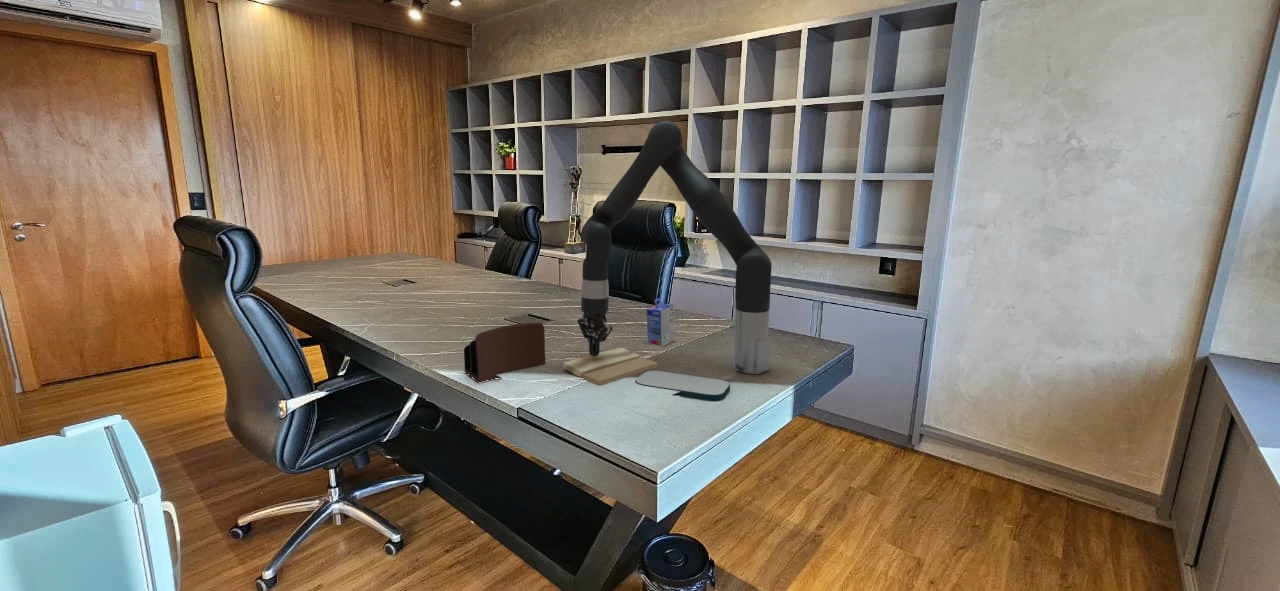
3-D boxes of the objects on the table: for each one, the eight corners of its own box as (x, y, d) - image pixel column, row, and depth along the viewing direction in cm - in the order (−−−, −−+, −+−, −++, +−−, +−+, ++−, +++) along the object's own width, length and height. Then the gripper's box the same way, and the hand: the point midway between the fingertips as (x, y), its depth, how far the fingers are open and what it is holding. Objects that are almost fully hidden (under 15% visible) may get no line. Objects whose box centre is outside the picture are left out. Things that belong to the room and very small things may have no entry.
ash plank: (639, 360, 165) (639, 355, 164) (581, 377, 151) (581, 372, 150) (620, 352, 170) (621, 347, 170) (563, 367, 156) (563, 362, 156)
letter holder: (546, 369, 162) (545, 320, 159) (478, 384, 150) (475, 331, 147) (529, 360, 170) (528, 313, 167) (464, 373, 158) (461, 323, 155)
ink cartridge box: (659, 338, 193) (659, 295, 190) (674, 340, 190) (675, 297, 187) (646, 345, 184) (646, 301, 181) (661, 348, 182) (662, 303, 179)
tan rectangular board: (660, 370, 160) (660, 362, 160) (596, 391, 145) (596, 381, 144) (621, 357, 172) (621, 349, 172) (558, 375, 157) (557, 366, 156)
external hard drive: (732, 388, 148) (732, 381, 148) (720, 404, 138) (721, 396, 138) (647, 376, 157) (647, 369, 157) (630, 390, 147) (630, 382, 147)
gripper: (621, 297, 157) (619, 358, 160) (590, 289, 166) (589, 346, 170) (600, 301, 151) (598, 363, 155) (569, 292, 161) (569, 351, 165)
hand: (594, 354), depth 162 cm, fingers closed
